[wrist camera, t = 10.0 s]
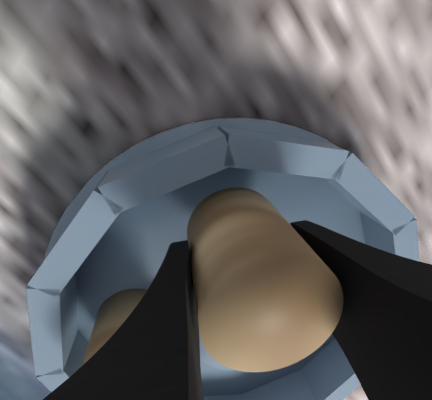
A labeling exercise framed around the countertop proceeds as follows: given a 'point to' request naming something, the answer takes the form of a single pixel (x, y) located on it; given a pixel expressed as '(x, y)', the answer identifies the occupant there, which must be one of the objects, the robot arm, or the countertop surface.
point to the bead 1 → (112, 318)
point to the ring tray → (177, 231)
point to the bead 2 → (257, 284)
